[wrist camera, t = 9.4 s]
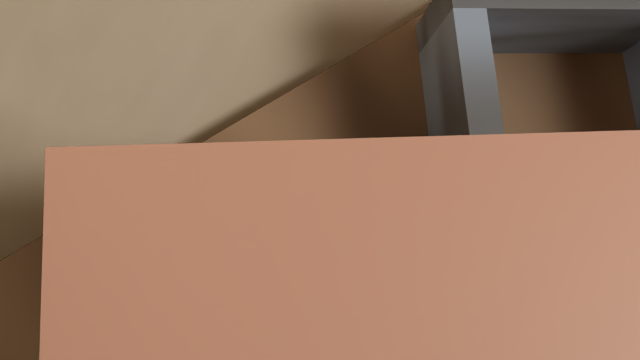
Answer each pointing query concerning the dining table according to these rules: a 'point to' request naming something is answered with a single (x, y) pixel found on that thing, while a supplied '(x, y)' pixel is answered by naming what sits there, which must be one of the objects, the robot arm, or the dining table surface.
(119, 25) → the dining table surface
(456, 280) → the pink rectangular block
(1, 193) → the dining table surface
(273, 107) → the cap board
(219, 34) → the dining table surface
